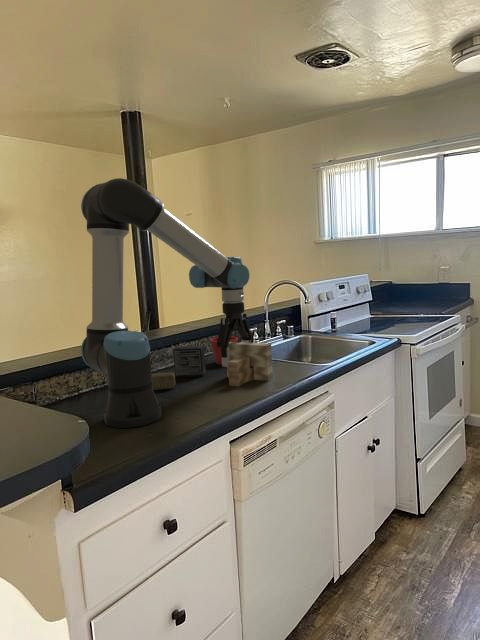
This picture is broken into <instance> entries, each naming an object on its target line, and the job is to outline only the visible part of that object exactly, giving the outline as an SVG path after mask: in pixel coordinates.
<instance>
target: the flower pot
mask: <svg viewBox="0 0 480 640" xmlns="http://www.w3.org/2000/svg"><path fill="white" fill-rule="evenodd" d="M217 340H218V336H217V337H213V338H211V339H210V340H209V341H210V345H211V351H212V353H213V357H214V360H215V363H216V364H217V365H222V356H221V348H218V347H217ZM238 340H239V339H238V337H237V336H231V338H230V341H229V342H239V341H238Z"/></svg>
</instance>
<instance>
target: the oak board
mask: <svg viewBox="0 0 480 640" xmlns="http://www.w3.org/2000/svg"><path fill="white" fill-rule="evenodd" d="M228 372H229V377H228V381H229V382H228V384H229V385H228V386H230V387H240V386H242V385H244V384H246V383H247V382H248V383H249V381H252V380H254V366H250V360H249V357H238V358H236V359H233V360H231V361H229V362H228Z"/></svg>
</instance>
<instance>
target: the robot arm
mask: <svg viewBox="0 0 480 640" xmlns="http://www.w3.org/2000/svg"><path fill="white" fill-rule="evenodd" d="M80 207H81V213H82V216H83V218H84V219H85V221H86V232H88V234H89V235H90V236H91V239H92V241H91V242H92V243H91V244H92V246H91V248H92V250H91V253H92V256H91V257H92V258H91V259H92V262H91V263H92V265H91V268H92V269H91V270H92V273H91V274H92V275H91V276H92V277H91V280H92V281H91V284H92V285H91V288H92V290H91V291H92V292H91V294H92V295H91V298H92V299H91V300H92V301H91V311H92V312H91V318H92V319H91V322H90V323H89V324H88V325H87V326H86V337H85V338H84V339H83V341H82V342H81V346H80V354H81V357H82V359H83V360H82V361H83V362H84V363H85V364H86V366H88V367H89V368H90V369H92V370H93V371H94V372H96V373H100V374H103V375H106V377H107V388H108V396H107V400H106V407H105V411H104V413H103V417H104V418H103V419H104V423H105V425H106V426H108V427H111V428H117V429H129V428H137V427H142V426H146V425H149V424H152V423H155V422H157V421H158V420H159V419H161V417H162V408H161V405H160V404H159V401H158V399H157V397H156V393H155V390H153V386H152V374H153V373H152V362H151V345H150V341H149V337H148V336H147V335H146V334H145V333H143V332H141V331H138V330H137V331H136V330H129V326H128V325H127V324H126V323H125V322H124V239H125V237H126V236H127V235H128V234H129V233H130V225H132V226H135V227H136V228H138V230H140V231H141V232H147V231H148V232H149V233H151V234H152V235H153V236H155V237H156V238H158V240H160V241H162V242H163V243H164V244H166V245H167V246H169V247H170V248H171V249H173V250H174V251H176V252H177V253H178V254H180V255H181V256H182V257H184V258H186V259H187V260H188V261H189V262H191V263H192V264H193V265H192V266H191V267H190V268H189V272H188V277H189V278H188V279H189V283H190V285H191V286H192V287H193V288H196V289H203V288H221V301H222V302H223V303H221V305H222V313H223V314H224V315H225V317H224V318H223V317H221V318H220V326H219V330H218V336H217V337H218V340H217V347H218V348H221V356H222V364H221V366H222V367H223V368H227V367H228V362H229V361H230V355H229V348H227V347H228V344H229V341H230V338H231V337H232V335H233V332H235V330H237V332H238V334H239V336H240V337H241V339H242V340H240V342H245V343H250V342H249V341H251V340H252V336H253V334H252V332H251V328H250V325H249V322H248V317H247V316H248V315H247V313H245V303H244V300H245V299H244V295H245V292H244V287H245V286H247V284H248V283H249V281H250V276H251V275H250V270H249V268H248V266H247V265H246V264H244V263H243V260H242V258H241V257H240V256H228V257H227V256H225V255H224V254H223V253H222V252H221V251H219V250H218V249H217V248H216V247H214V246H213V245H212V244H210V243H209V242H208V241H207V240H206V239H204V238H203V237H202V236H200V235H199V234H198V233H197V232H195V231H194V230H193V229H191V228H190V227H189V226H188V225H187V224H185V223H184V222H182V221H181V220H180V219H179V218H177V217H176V216H175V215H173V214H172V213H171V212H170V211H168V210H167V209H166V208H165V204H164V202H163V201H162V200H161V199H159V198H158V197H157V196H155V194H153V193H151V192H150V191H149V190H147V189H146V188H144V187H143V186H141V185H140V184H138V183H136V182H134V181H132V180H130V179H127V178H121V177H120V178H119V177H117V178H112V179H110V180H107V181H106V182H102V183H97V184H95V185H93V186H91V187H90V188H89V189H88V190H87V191H86V192H85V193H84V195H83V197H82V200H81V205H80Z"/></svg>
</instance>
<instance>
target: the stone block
mask: <svg viewBox="0 0 480 640" xmlns="http://www.w3.org/2000/svg"><path fill="white" fill-rule="evenodd" d="M176 383H177V382H176V377H175V372H154V373H152V386H153V390H154V391H161V390H172V389H175V388H174V387H176Z"/></svg>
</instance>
